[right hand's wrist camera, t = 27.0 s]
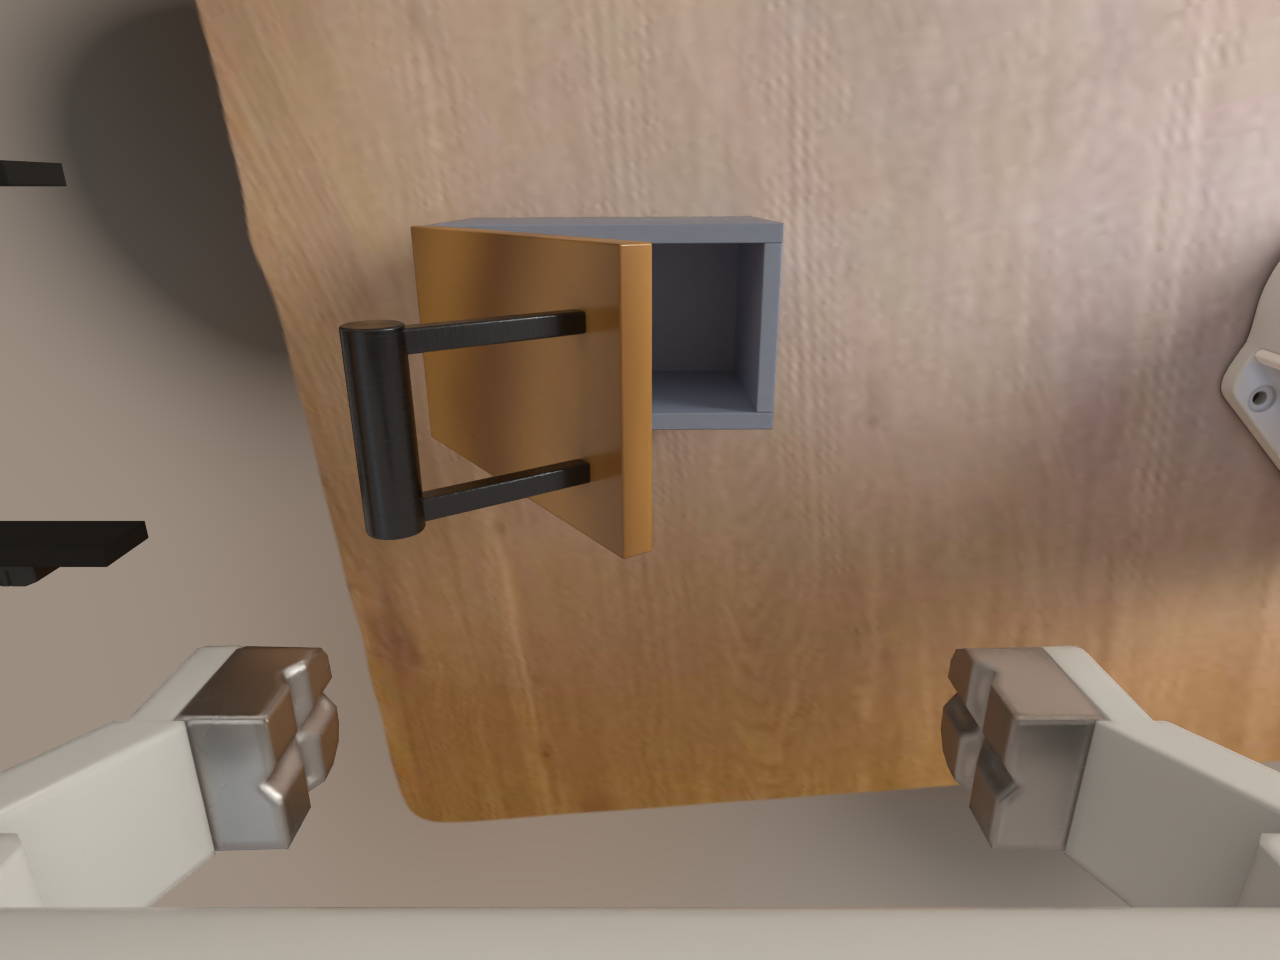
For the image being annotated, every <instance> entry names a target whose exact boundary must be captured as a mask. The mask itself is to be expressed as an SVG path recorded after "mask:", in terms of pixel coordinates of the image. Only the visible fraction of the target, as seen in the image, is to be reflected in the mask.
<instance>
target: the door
mask: <svg viewBox="0 0 1280 960" xmlns="http://www.w3.org/2000/svg"><path fill="white" fill-rule="evenodd" d="M411 236H412V246H413V256H414V266H415V276H416V286H417V296H418V306H419V316H420V324H413V325H404V323H403V322H400V321H394V320H367V321H357V322H350V323H346V324H343V325H341V326H340V327H339V333H340V340H341V348H342V355H343V363H344V370H345V378H346V385H347V392H348V400H349V407H350V415H351V422H352V430H353V437H354V444H355V452H356V459H357V467H358V474H359V481H360V489H361V496H362V504H363V511H364V519H365V526H366V532H367V534H368V535H369V536H370V537H372V538H375V539H380V540H396V539H403V538H407V537H410V536H413V535H416V534H418V533H420V532H421V531H422V530H423V529H424V528H425V525H426V521H429V520H433V519H437V518H442V517H446V516H450V515H454V514H459V513H463V512H467V511H471V510H476V509H480V508H484V507H488V506H493V505H497V504H501V503H505V502H510V501H514V500H518V499H522V498H529V499H530V500H532V501H534V502H535V503H537V504H538V505H540V506H541V507H543V508H545V509H546V510H548V511H549V512H551V513H552V514H554V515H555V516H557V517H559V518H560V519H562V520H563V521H565V522H566V523H568V524H570V525H571V526H573V527H574V528H576V529H577V530H579V531H581V532H582V533H584V534H585V535H587V536H588V537H590V538H592V539H593V540H595V541H596V542H598V543H599V544H601V545H603V546H604V547H606V548H607V549H609V550H610V551H612V552H613V553H615V554H617V555H618V556H620V557H621V558H623V559H626V558H629V557H632V556H636V555H639V554H642V553H646V552H649V551H651V550H652V244H651V243H650V242H643V241H630V240H617V239H604V238H591V237H578V236H565V235H552V234H539V233H526V232H513V231H499V230H486V229H473V228H460V227H447V226H434V225H433V226H411ZM415 353H423V356H424V366H425V376H426V386H427V396H428V406H429V416H430V426H431V436H432V437H433V438H435V439H436V440H438V441H439V442H441V443H443V444H444V445H446V446H447V447H449V448H450V449H452V450H454V451H455V452H457V453H458V454H460V455H461V456H463V457H465V458H466V459H468V460H469V461H471V462H472V463H474V464H476V465H477V466H479V467H480V468H482V469H483V470H485V471H486V472H488V473H490V474H491V475H493V476H494V477H490V478H486V479H481V480H476V481H472V482H467V483H462V484H458V485H453V486H448V487H444V488H439V489H434V490H430V491H425V492H422V484H421V474H420V465H419V456H418V446H417V437H416V427H415V418H414V409H413V399H412V390H411V380H410V371H409V362H408V354H415Z"/></svg>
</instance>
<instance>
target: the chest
mask: <svg viewBox="0 0 1280 960" xmlns="http://www.w3.org/2000/svg"><path fill="white" fill-rule="evenodd" d="M433 225H434V226H447V227H460V228H473V229H486V230H499V231H513V232H526V233H539V234H552V235H565V236H578V237H591V238H604V239H617V240H630V241H643V242H650V243H651V244H652V430H708V429H772V428H773V411H774V394H775V376H776V357H777V339H778V320H779V302H780V283H781V265H782V246H783V244H782V242H783V229H784V223H780V222H775V221H770V220H765V219H761V218H756V217H596V218H472V219H465V220H458V221H452V222H445V223H438V224H432V225H427V226H433Z"/></svg>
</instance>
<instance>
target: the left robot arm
mask: <svg viewBox="0 0 1280 960" xmlns="http://www.w3.org/2000/svg"><path fill="white" fill-rule="evenodd" d="M0 186H66V181H65V177H64V173H63V169H62V164H61V163H44V162H25V161H5V160H0ZM147 538H148V534H147V529H146V525H145V521H0V586H27V585H30V584H32V583H35V582H37V581H39V580H40V579H42V578H43V577H45V576H46V575H48V574H50V573H51V572H53V571H54V570H56V569H57V568H59V567H107V566H109V565H110V564H112V563H113V562H115V561H116V560H117V559H119V558H120V557H122V556H123V555H125V554H126V553H127V552H129V551H130V550H132V549H133V548H134V547H136V546H137V545H139V544H140V543H142V542H143V541H145V540H146V539H147Z"/></svg>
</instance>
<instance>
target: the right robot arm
mask: <svg viewBox="0 0 1280 960" xmlns="http://www.w3.org/2000/svg"><path fill="white" fill-rule="evenodd" d="M1221 391H1222V394H1223V396H1224V398H1225V399H1226V400H1227V402H1228V403H1229V404H1230V406H1231V407H1232V408H1233V410H1234V411H1235V412H1236V414H1237V415H1238V416H1239V418H1240V419H1241V420H1242V422H1243V423H1244V424H1245V426H1246V427H1247V428H1248V430H1249V431H1250V432H1251V434H1252V435H1253V436H1254V437H1255V439H1256V440H1257V441H1258V443H1259V444H1260V445H1261V447H1262V448H1263V449H1264V451H1265V452H1266V453H1267V455H1268V456H1269V457H1270V459H1271V460H1272V461H1273V463H1274V464H1275V465H1276V467H1277V468H1278V469H1279V471H1280V261H1279V262H1278V264H1277V265H1276V267H1275V268H1274V270H1273V272H1272V273H1271V275H1270V277H1269V279H1268V281H1267V283H1266V285H1265V287H1264V289H1263V292H1262V294H1261V297H1260V299H1259V302H1258V305H1257V309H1256V313H1255V316H1254V320H1253V324H1252V327H1251V330H1250V333H1249V336H1248V338H1247V341H1246V343H1245V344H1244V346H1243V347H1242V348H1241V350H1240V351H1239V353H1238V354H1237V355H1236V357H1235V358H1234V360H1233V361H1232V363H1231V364H1230V366H1229V367H1228V369H1227V371H1226V373H1225V375H1224V377H1223V379H1222V383H1221ZM1257 392H1258V397H1257V398H1256V399H1255V400H1254V401H1253V396H1254V395H1255V394H1256V393H1257ZM331 678H332V675H331V670H330V665H329V659H328V655H327V654H326V653H325V652H324V651H323V650H322V649H321V648H308V647H258V646H246V647H242V646H207V647H202V648H198V649H197V650H196V651H195V652H194V653H193V654H192V655H191V656H190V657H189V658H188V659H187V660H186V661H185V662H184V663H183V664H182V665H181V666H180V667H179V668H178V669H177V670H176V671H175V672H174V673H173V674H172V675H171V676H170V677H169V678H168V679H167V680H166V681H165V682H164V683H163V684H162V685H161V686H160V687H159V688H158V689H157V690H156V691H155V692H154V693H153V694H152V695H151V696H150V697H149V698H148V700H147V701H146V702H145V703H144V704H143V705H142V706H141V707H140V708H139V709H138V710H137V711H136V712H135V713H134V714H133V715H132V716H131V717H130V718H129V719H128V720H127V721H112V722H110V723H108V724H106V725H103V726H101V727H99V728H97V729H95V730H93V731H90V732H88V733H86V734H84V735H82V736H79V737H77V738H75V739H73V740H71V741H68V742H66V743H64V744H62V745H60V746H57V747H55V748H53V749H51V750H49V751H46V752H44V753H42V754H40V755H37V756H35V757H33V758H31V759H29V760H27V761H24V762H22V763H20V764H18V765H16V766H13V767H11V768H9V769H7V770H5V771H2V772H0V960H1280V772H1277V771H1275V770H1273V769H1271V768H1269V767H1266V766H1264V765H1262V764H1260V763H1258V762H1255V761H1253V760H1251V759H1249V758H1247V757H1245V756H1242V755H1240V754H1238V753H1236V752H1234V751H1231V750H1229V749H1227V748H1225V747H1223V746H1220V745H1218V744H1216V743H1214V742H1212V741H1209V740H1207V739H1205V738H1203V737H1201V736H1198V735H1196V734H1194V733H1192V732H1190V731H1187V730H1185V729H1183V728H1181V727H1179V726H1177V725H1174V724H1172V723H1170V722H1168V721H1153V720H1152V719H1151V718H1150V717H1149V716H1148V715H1147V714H1146V713H1145V712H1144V711H1143V710H1142V709H1141V708H1140V707H1139V706H1138V704H1137V703H1136V702H1135V701H1134V700H1133V699H1132V698H1131V697H1130V696H1129V695H1128V694H1127V693H1126V692H1125V691H1124V690H1123V689H1122V688H1121V687H1120V686H1119V685H1118V684H1117V683H1116V682H1115V681H1114V680H1113V679H1112V678H1111V677H1110V676H1109V675H1108V674H1107V673H1106V672H1105V671H1104V670H1103V669H1102V668H1101V667H1100V666H1099V665H1098V664H1097V663H1096V662H1095V661H1094V660H1093V659H1092V658H1091V657H1090V656H1089V655H1088V653H1087V652H1086V651H1085V650H1084V649H1081V648H1079V647H1076V646H1073V645H1071V646H1045V647H1016V648H976V649H956V650H955V653H954V655H953V657H952V659H951V663H950V669H949V675H948V678H949V680H950V681H951V683H952V684H953V686H954V688H955V689H956V691H957V693H956V694H955V695H954V696H953V697H952V698H951V699H950V700H949V701H948V702H947V703H946V704H945V706H944V707H943V715H942V723H941V736H942V747H943V753H944V756H945V759H946V762H947V766H948V768H949V770H950V772H951V774H952V776H953V778H954V780H955V781H956V782H958V783H959V784H961V785H962V786H964V787H965V788H967V789H968V790H970V791H971V792H972V794H971V800H970V805H969V808H970V809H971V811H972V813H973V815H974V817H975V819H976V820H977V822H978V824H979V826H980V828H981V830H982V831H983V833H984V835H985V837H986V839H987V841H988V842H989V844H990V846H991V848H992V849H1018V850H1054V851H1065V855H1066V856H1067V857H1069V858H1070V859H1071V860H1072V861H1074V862H1075V863H1076V864H1077V865H1079V866H1080V867H1081V868H1082V869H1084V870H1085V871H1086V872H1087V873H1089V874H1090V875H1091V876H1093V877H1094V878H1095V879H1096V880H1098V881H1099V882H1100V883H1101V884H1103V885H1104V886H1105V887H1106V888H1108V889H1109V890H1110V891H1111V892H1113V893H1114V894H1115V895H1116V896H1118V897H1119V898H1120V899H1121V900H1123V901H1124V902H1125V903H1126V904H1128V905H1129V906H1130V907H150V906H151V905H153V904H154V903H155V902H156V901H158V900H159V899H160V898H161V897H163V896H164V895H165V894H166V893H168V892H169V891H170V890H171V889H173V888H174V887H175V886H176V885H178V884H179V883H180V882H182V881H183V880H184V879H185V878H186V877H188V876H189V875H190V874H192V873H193V872H194V871H195V870H197V869H198V868H199V867H200V866H202V865H203V864H204V863H205V862H207V861H208V860H209V859H210V858H212V857H213V856H214V855H215V851H226V850H261V849H288V848H289V846H290V844H291V843H292V841H293V839H294V837H295V835H296V833H297V832H298V830H299V828H300V826H301V824H302V822H303V820H304V819H305V817H306V815H307V813H308V811H309V809H310V808H311V806H310V799H309V794H308V792H309V791H311V790H312V789H313V788H315V787H316V786H318V785H319V784H321V783H322V782H324V781H325V779H326V778H327V776H328V774H329V772H330V769H331V768H332V766H333V763H334V759H335V755H336V750H337V746H338V742H339V720H338V713H337V707H336V706H335V705H334V703H333V702H332V701H331V700H330V699H329V698H328V697H327V696H326V695H325V694H324V693H323V691H324V689H325V688H326V686H327V684H328V683H329V681H330V680H331Z"/></svg>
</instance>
